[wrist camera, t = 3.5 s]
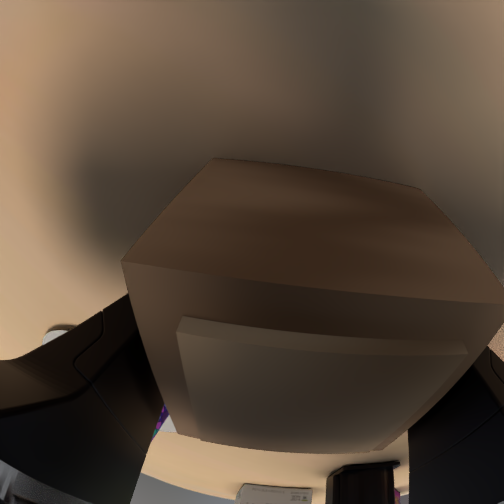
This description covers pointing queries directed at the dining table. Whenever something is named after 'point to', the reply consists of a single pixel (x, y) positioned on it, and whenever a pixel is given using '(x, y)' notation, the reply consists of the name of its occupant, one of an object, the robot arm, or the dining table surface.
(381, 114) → the dining table surface
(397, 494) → the candy bar box
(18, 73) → the dining table surface
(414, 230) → the walnut block
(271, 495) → the tea box
